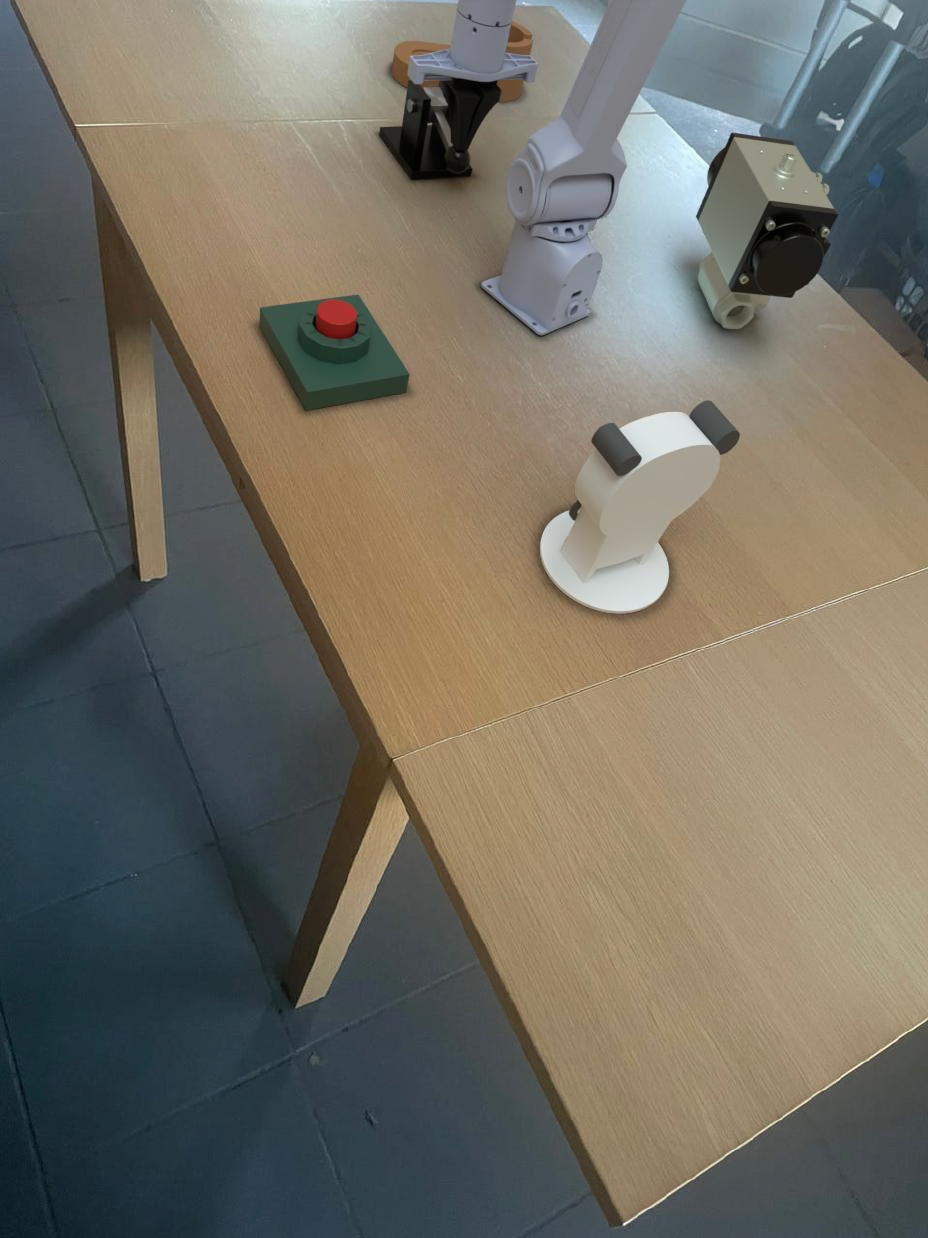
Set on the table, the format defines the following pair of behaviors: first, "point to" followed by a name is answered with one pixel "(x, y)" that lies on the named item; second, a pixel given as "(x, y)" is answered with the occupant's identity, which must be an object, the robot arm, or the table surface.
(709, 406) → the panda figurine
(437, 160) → the bracket
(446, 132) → the lever
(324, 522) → the table surface
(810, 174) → the ball valve
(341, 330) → the button
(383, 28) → the table surface
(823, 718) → the table surface
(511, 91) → the bracket
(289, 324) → the button box
